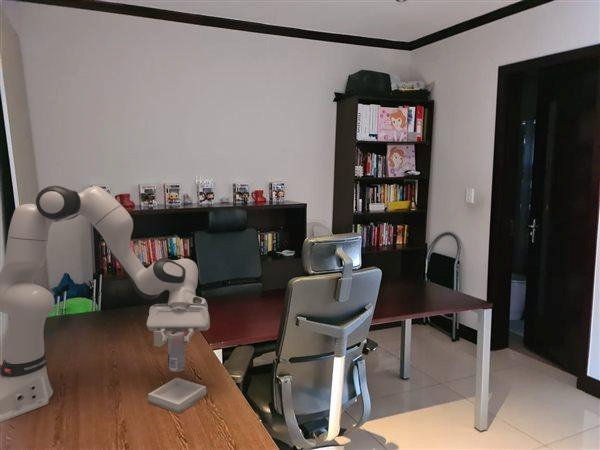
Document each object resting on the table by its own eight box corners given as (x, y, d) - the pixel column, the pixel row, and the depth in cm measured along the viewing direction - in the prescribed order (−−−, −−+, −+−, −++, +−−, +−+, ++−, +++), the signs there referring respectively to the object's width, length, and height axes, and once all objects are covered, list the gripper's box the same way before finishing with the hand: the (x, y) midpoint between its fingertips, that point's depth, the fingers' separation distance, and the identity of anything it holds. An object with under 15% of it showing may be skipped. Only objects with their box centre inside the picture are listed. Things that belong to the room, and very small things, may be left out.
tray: (178, 413, 143) (178, 404, 142) (148, 402, 149) (148, 394, 148) (206, 394, 154) (206, 386, 153) (176, 385, 160) (176, 377, 160)
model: (154, 346, 193) (153, 329, 192) (168, 337, 203) (168, 320, 202) (160, 347, 192) (160, 330, 191) (175, 338, 202) (174, 321, 201)
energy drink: (178, 363, 154) (177, 329, 152) (188, 368, 150) (187, 332, 149) (165, 369, 149) (163, 333, 148) (175, 373, 146) (174, 337, 145)
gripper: (148, 299, 153) (140, 338, 145) (210, 299, 154) (205, 338, 146) (152, 307, 158) (145, 346, 150) (212, 307, 159) (208, 346, 151)
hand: (175, 342), depth 148 cm, fingers closed on energy drink, 5 cm apart
